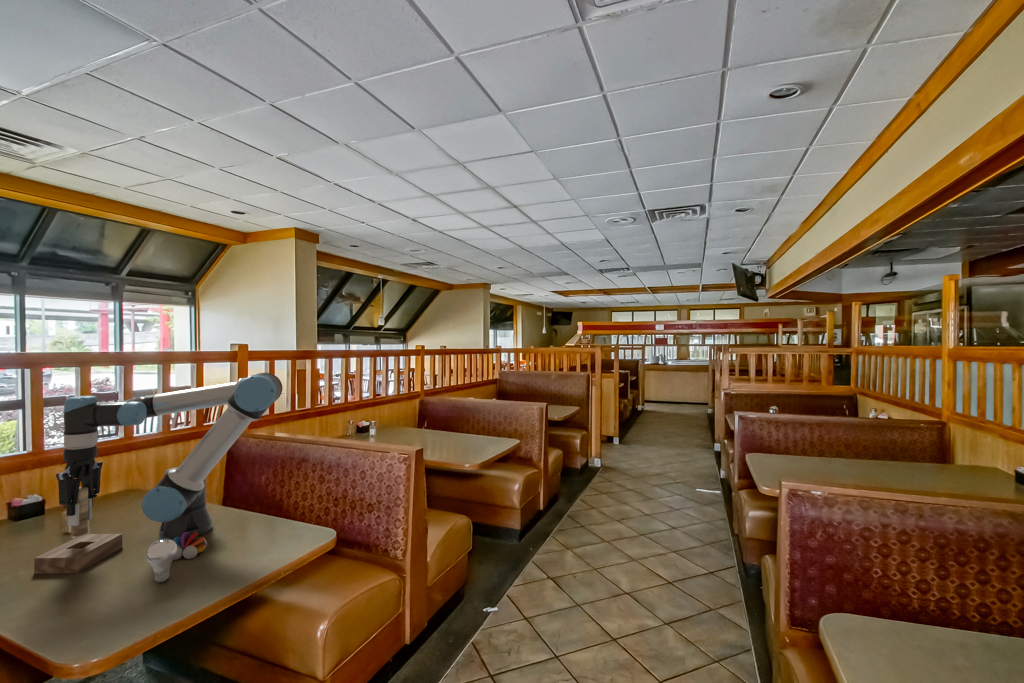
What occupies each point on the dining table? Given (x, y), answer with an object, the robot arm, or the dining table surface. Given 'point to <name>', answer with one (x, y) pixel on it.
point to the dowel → (82, 513)
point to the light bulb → (161, 557)
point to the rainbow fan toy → (189, 545)
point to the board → (77, 553)
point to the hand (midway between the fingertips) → (80, 522)
